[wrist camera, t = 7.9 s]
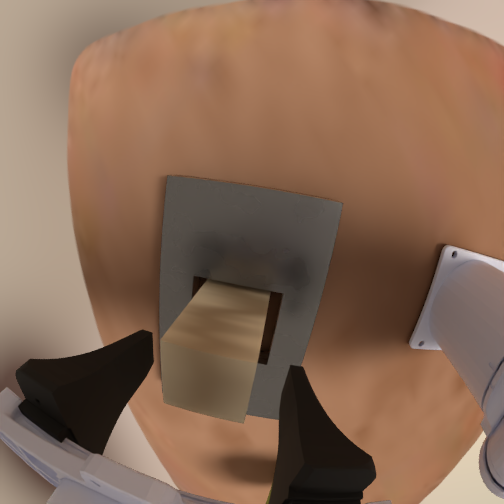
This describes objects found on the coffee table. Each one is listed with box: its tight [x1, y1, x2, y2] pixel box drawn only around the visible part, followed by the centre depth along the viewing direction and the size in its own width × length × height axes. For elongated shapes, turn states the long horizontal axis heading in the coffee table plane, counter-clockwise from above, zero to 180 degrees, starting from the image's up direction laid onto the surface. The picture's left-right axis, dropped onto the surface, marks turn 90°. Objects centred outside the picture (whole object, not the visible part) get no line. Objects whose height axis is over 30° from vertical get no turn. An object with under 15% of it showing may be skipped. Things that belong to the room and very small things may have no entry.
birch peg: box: [160, 279, 271, 423], centre depth 15 cm, size 4×4×8 cm
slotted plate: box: [159, 175, 343, 420], centre depth 18 cm, size 10×17×2 cm, turn 171°
